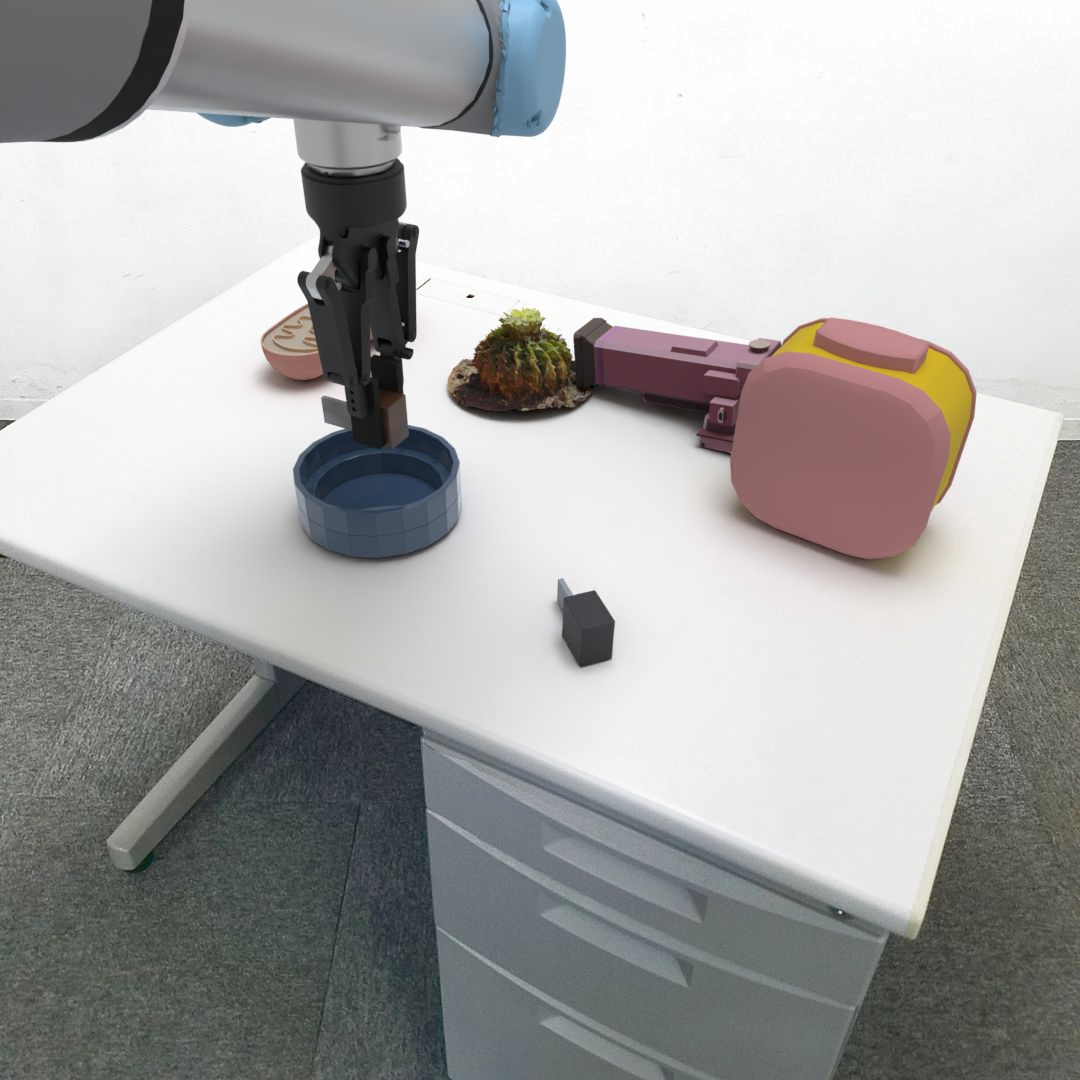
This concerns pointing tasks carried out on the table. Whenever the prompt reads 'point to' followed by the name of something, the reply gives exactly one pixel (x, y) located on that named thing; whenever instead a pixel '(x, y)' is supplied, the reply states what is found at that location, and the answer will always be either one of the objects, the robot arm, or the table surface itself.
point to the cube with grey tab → (586, 625)
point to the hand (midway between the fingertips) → (380, 433)
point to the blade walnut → (390, 412)
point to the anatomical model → (294, 346)
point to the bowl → (378, 493)
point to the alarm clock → (851, 435)
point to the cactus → (518, 368)
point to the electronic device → (672, 371)
